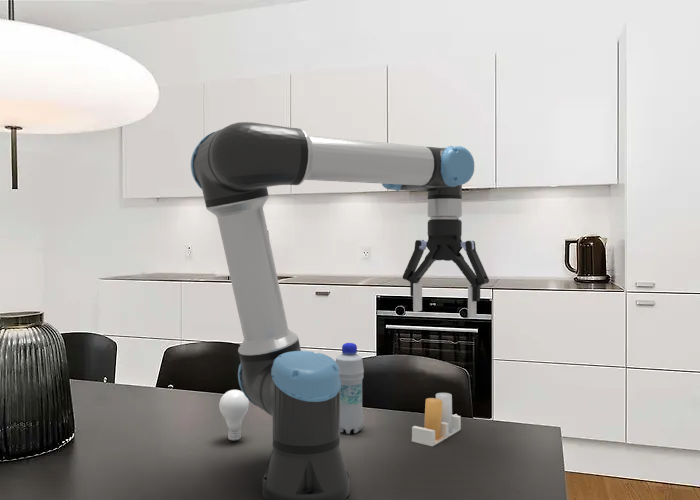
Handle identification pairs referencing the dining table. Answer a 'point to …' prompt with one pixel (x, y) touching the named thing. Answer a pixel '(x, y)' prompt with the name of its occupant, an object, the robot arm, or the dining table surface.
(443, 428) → the rack
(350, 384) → the bottle
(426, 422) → the orange plug
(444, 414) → the grey plug
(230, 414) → the lightbulb
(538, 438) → the dining table surface
